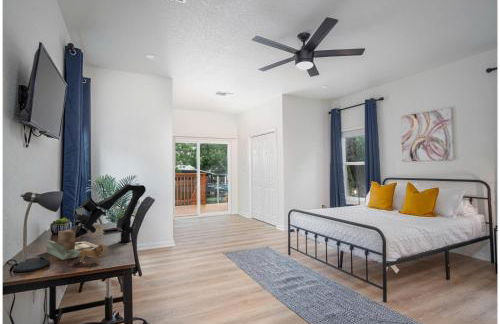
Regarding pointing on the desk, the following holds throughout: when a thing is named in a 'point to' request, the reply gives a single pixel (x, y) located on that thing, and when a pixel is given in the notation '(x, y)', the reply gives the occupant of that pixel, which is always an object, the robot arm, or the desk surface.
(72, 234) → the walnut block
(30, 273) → the desk surface
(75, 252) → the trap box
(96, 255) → the lion figurine
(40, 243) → the desk surface
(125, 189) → the robot arm
